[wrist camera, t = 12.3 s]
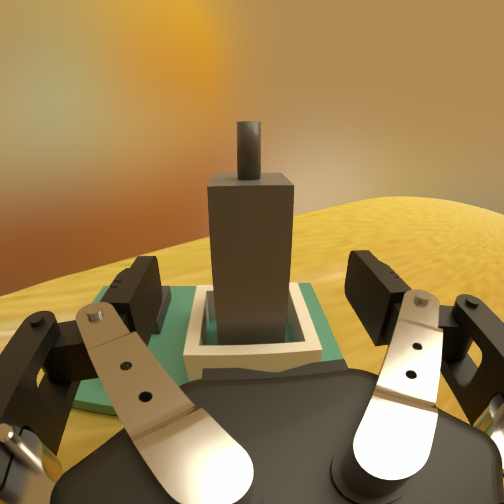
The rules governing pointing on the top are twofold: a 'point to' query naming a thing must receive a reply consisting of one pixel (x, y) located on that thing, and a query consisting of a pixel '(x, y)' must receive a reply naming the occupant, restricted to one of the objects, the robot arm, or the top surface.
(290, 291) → the board
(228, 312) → the plug
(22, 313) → the top surface
